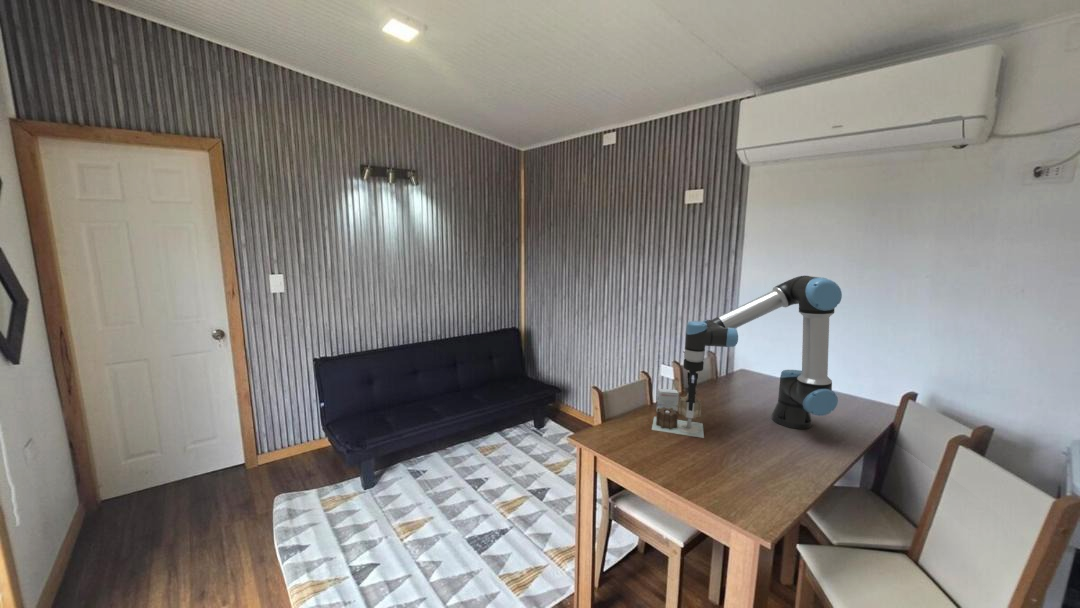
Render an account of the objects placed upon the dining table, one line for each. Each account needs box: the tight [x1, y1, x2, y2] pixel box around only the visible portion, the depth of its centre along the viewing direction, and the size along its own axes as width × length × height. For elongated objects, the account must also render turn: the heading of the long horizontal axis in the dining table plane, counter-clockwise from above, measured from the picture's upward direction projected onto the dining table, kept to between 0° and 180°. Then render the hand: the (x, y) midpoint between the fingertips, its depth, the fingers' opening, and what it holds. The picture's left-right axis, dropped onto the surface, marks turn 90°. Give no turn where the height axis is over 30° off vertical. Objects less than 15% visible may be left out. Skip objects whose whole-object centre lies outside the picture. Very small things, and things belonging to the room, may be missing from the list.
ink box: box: [655, 388, 680, 412], centre depth 188 cm, size 9×5×12 cm, turn 84°
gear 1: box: [656, 407, 679, 429], centre depth 176 cm, size 8×8×6 cm
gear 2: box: [678, 395, 702, 419], centre depth 172 cm, size 8×8×6 cm
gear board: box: [651, 411, 705, 439], centre depth 175 cm, size 20×14×7 cm
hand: (689, 413), depth 173 cm, fingers closed on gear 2, 8 cm apart
